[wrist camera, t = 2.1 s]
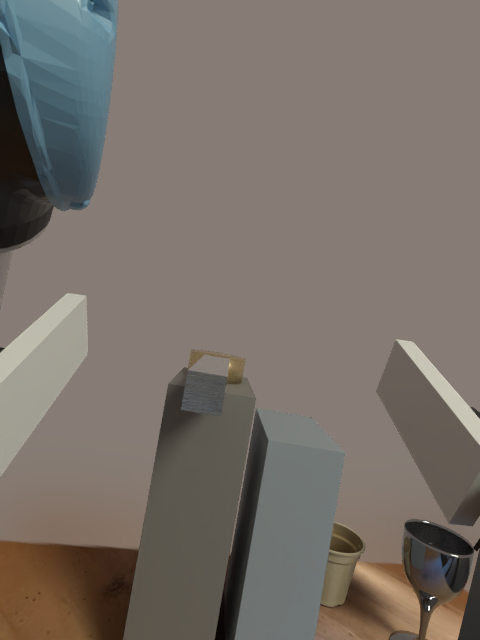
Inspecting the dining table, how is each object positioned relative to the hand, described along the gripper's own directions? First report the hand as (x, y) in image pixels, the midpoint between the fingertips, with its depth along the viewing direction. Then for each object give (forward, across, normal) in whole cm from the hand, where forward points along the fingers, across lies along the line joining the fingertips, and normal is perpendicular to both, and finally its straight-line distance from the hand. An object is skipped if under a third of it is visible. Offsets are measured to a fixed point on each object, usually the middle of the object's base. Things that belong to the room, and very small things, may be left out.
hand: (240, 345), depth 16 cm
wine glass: (+10, +30, -47) cm, 57 cm away
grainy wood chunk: (+18, -1, -16) cm, 24 cm away
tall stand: (+10, -1, -45) cm, 47 cm away
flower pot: (+19, +21, -51) cm, 58 cm away
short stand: (+10, +9, -46) cm, 48 cm away
